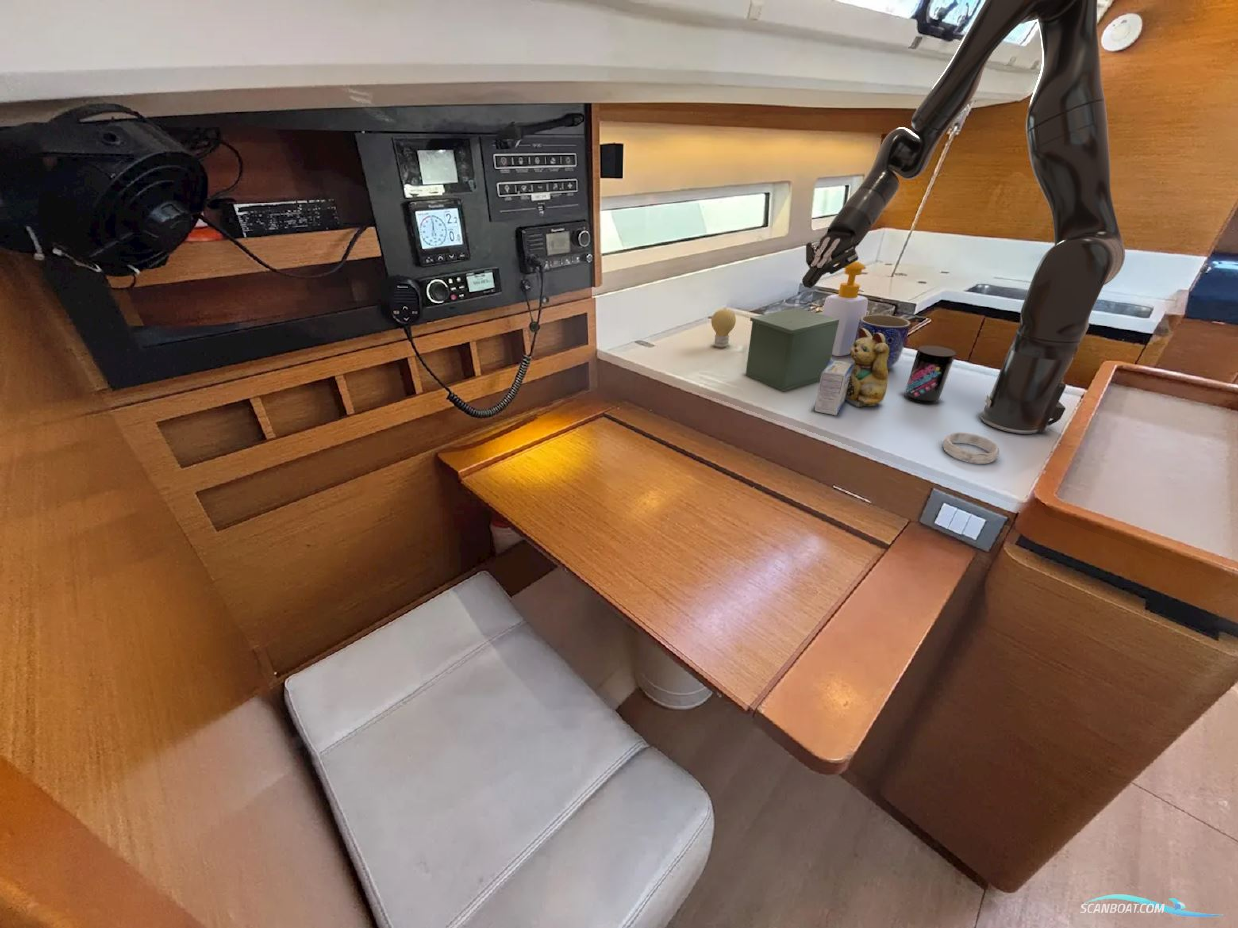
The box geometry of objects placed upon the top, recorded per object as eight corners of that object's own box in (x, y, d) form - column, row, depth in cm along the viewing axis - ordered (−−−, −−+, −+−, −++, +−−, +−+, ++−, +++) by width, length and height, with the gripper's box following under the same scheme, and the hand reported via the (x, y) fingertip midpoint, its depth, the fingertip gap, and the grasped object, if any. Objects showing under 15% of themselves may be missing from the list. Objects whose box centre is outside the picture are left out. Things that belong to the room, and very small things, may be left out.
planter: (907, 370, 120) (922, 324, 114) (871, 376, 117) (884, 329, 111) (873, 356, 129) (885, 312, 123) (839, 361, 125) (849, 317, 120)
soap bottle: (820, 338, 142) (837, 255, 130) (862, 352, 131) (885, 262, 120) (796, 344, 137) (812, 258, 126) (838, 358, 127) (859, 266, 116)
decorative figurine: (830, 395, 108) (845, 326, 100) (859, 389, 110) (877, 321, 103) (863, 412, 100) (883, 339, 92) (894, 406, 103) (916, 334, 95)
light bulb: (737, 346, 137) (741, 309, 132) (724, 351, 133) (728, 314, 128) (717, 341, 140) (721, 305, 135) (704, 346, 137) (707, 309, 131)
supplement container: (898, 391, 109) (912, 345, 104) (930, 392, 109) (946, 345, 103) (911, 404, 103) (926, 356, 98) (945, 405, 103) (962, 356, 97)
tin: (783, 391, 110) (793, 333, 103) (745, 374, 118) (752, 320, 112) (826, 379, 116) (838, 323, 109) (787, 363, 125) (796, 311, 118)
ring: (971, 439, 90) (975, 430, 89) (1008, 462, 83) (1012, 452, 82) (931, 443, 89) (934, 433, 88) (964, 466, 82) (969, 456, 81)
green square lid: (791, 334, 102) (791, 330, 102) (749, 320, 111) (750, 317, 111) (838, 323, 109) (839, 319, 108) (796, 311, 118) (796, 307, 117)
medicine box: (836, 416, 99) (846, 375, 94) (813, 411, 101) (821, 371, 96) (844, 402, 105) (854, 362, 100) (822, 397, 107) (830, 359, 102)
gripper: (824, 203, 108) (776, 269, 109) (879, 207, 99) (825, 278, 100) (835, 228, 113) (789, 291, 114) (889, 234, 104) (837, 302, 105)
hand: (806, 285), depth 107 cm, fingers closed
